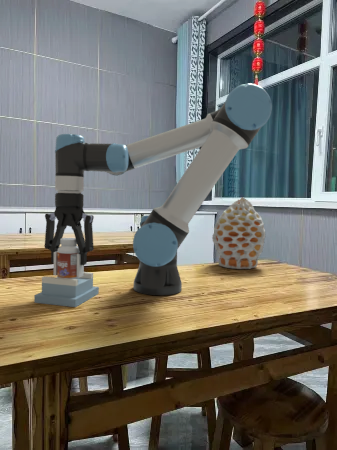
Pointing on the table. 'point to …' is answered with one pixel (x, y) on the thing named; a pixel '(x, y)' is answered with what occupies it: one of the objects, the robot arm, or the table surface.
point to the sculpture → (239, 236)
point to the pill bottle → (67, 258)
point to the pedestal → (66, 290)
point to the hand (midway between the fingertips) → (68, 275)
